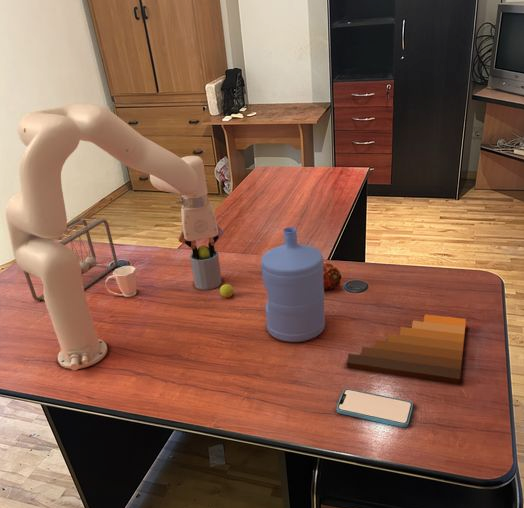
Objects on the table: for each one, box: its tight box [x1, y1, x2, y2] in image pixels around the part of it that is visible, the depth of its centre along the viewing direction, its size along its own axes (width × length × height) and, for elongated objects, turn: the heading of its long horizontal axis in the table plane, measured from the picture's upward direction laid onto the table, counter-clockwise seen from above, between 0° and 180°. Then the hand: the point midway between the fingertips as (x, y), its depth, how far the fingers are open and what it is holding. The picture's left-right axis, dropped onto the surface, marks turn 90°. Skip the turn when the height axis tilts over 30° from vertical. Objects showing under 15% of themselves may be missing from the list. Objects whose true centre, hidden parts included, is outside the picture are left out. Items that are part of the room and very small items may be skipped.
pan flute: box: [346, 314, 467, 385], centre depth 133 cm, size 25×3×25 cm
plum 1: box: [197, 244, 210, 259], centre depth 167 cm, size 4×4×4 cm
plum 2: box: [219, 283, 234, 298], centre depth 163 cm, size 4×4×4 cm
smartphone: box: [336, 388, 414, 428], centre depth 116 cm, size 8×1×15 cm
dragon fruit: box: [323, 262, 342, 290], centre depth 162 cm, size 8×8×12 cm
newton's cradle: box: [22, 216, 118, 302], centre depth 175 cm, size 30×10×18 cm, turn 156°
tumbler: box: [189, 249, 223, 291], centre depth 169 cm, size 9×9×10 cm
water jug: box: [260, 226, 326, 343], centre depth 139 cm, size 16×16×28 cm
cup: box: [105, 265, 138, 298], centre depth 168 cm, size 7×10×8 cm
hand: (204, 257), depth 167 cm, fingers closed on plum 1, 3 cm apart
